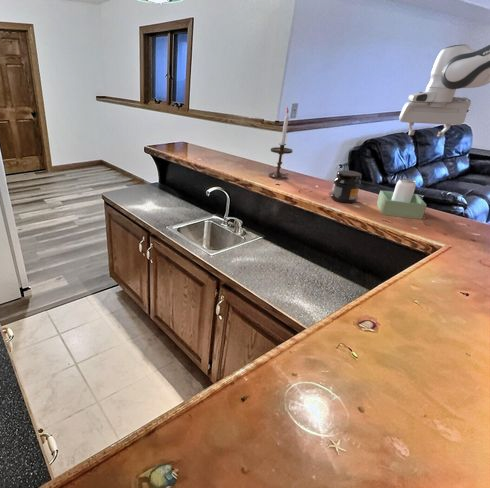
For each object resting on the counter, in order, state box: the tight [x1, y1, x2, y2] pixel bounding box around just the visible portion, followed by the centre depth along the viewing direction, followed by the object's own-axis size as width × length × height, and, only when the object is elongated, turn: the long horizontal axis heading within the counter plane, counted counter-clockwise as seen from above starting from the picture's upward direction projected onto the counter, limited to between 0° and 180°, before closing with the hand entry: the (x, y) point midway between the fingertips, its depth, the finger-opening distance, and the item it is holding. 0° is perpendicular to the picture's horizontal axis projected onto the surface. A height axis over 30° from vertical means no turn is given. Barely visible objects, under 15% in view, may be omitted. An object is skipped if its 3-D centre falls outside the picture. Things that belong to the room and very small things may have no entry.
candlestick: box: [268, 106, 293, 179], centre depth 179 cm, size 11×11×35 cm
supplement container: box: [330, 169, 362, 204], centre depth 152 cm, size 10×10×12 cm
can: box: [391, 177, 417, 202], centre depth 139 cm, size 6×6×12 cm
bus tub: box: [375, 190, 428, 220], centre depth 141 cm, size 14×14×6 cm
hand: (425, 136), depth 132 cm, fingers open, 8 cm apart
